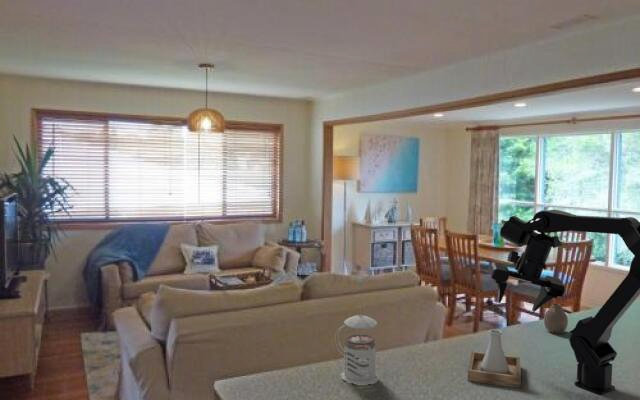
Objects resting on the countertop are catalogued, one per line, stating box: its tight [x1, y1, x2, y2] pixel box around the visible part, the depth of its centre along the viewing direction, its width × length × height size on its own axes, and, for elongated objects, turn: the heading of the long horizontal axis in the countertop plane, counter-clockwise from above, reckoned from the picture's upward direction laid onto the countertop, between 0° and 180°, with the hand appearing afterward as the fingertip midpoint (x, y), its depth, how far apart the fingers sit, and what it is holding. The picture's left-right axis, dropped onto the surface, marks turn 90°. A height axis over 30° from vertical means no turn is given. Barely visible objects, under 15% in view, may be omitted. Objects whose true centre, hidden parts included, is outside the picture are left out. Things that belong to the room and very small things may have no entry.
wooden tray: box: [467, 350, 522, 389], centre depth 129 cm, size 12×14×2 cm
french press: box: [334, 276, 380, 386], centre depth 125 cm, size 10×12×25 cm
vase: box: [543, 303, 569, 335], centre depth 162 cm, size 7×7×9 cm
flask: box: [480, 329, 509, 374], centre depth 128 cm, size 7×7×10 cm
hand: (516, 306), depth 137 cm, fingers open, 9 cm apart
